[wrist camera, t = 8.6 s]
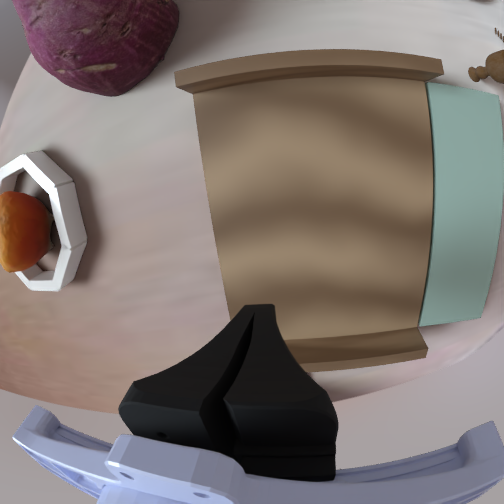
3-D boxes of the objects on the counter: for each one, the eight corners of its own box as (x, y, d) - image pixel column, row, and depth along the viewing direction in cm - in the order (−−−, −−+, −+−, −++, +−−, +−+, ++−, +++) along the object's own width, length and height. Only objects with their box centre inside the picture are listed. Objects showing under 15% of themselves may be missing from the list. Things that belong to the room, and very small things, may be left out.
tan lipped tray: (410, 327, 22) (425, 357, 18) (239, 340, 25) (230, 373, 21) (415, 71, 14) (441, 59, 11) (196, 84, 17) (174, 72, 13)
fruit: (67, 277, 24) (-2, 293, 17) (50, 243, 27) (-7, 253, 21) (67, 200, 20) (-14, 211, 14) (51, 178, 24) (-12, 184, 18)
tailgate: (416, 318, 22) (475, 311, 20) (419, 326, 21) (480, 317, 19) (421, 84, 15) (490, 96, 13) (427, 81, 14) (498, 95, 12)
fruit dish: (100, 279, 25) (86, 291, 22) (27, 280, 27) (15, 289, 25) (67, 137, 20) (48, 139, 17) (-1, 174, 22) (-16, 179, 20)
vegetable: (108, 20, 18) (9, -41, 3) (198, -4, 15) (105, -114, 1) (75, 109, 19) (-60, 71, 5) (166, 95, 17) (-7, -5, 2)
